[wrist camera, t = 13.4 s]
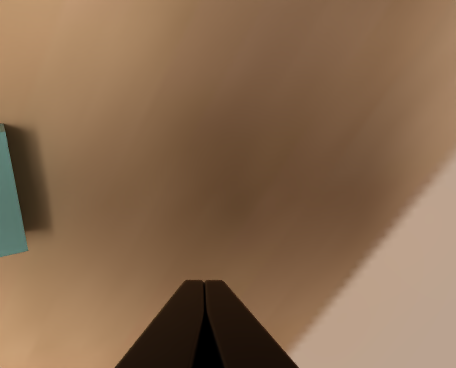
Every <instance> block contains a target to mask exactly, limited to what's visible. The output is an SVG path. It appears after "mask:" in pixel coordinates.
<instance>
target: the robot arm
mask: <svg viewBox="0 0 456 368" xmlns="http://www.w3.org/2000/svg"><path fill="white" fill-rule="evenodd" d="M115 368H299V367H298V366H297V365H296V364H295V363H294V362H293V360H292V359H291V358H290V357H289V356H288V355H287V354H286V352H285V351H284V350H283V349H282V348H281V347H280V346H279V344H278V343H277V342H276V341H275V340H274V339H273V337H272V336H271V335H270V334H269V333H268V332H267V331H266V329H265V328H264V327H263V326H262V325H261V324H260V323H259V321H258V320H257V319H256V318H255V317H254V316H253V315H252V313H251V312H250V311H249V310H248V309H247V308H246V306H245V305H244V304H243V303H242V302H241V301H240V300H239V298H238V297H237V296H236V295H235V294H234V293H233V292H232V290H231V289H230V288H229V287H228V286H227V285H226V284H225V282H224V281H222V280H206V281H205V282H203V281H202V280H185V281H184V282H183V283H182V285H181V286H180V287H179V288H178V290H177V291H176V292H175V293H174V295H173V296H172V297H171V298H170V300H169V301H168V302H167V303H166V304H165V306H164V307H163V308H162V309H161V311H160V312H159V313H158V314H157V316H156V317H155V318H154V319H153V321H152V322H151V323H150V324H149V326H148V327H147V328H146V329H145V331H144V332H143V333H142V334H141V336H140V337H139V338H138V339H137V341H136V342H135V343H134V344H133V346H132V347H131V348H130V349H129V351H128V352H127V353H126V354H125V356H124V357H123V358H122V359H121V361H120V362H119V363H118V364H117V365H116V367H115Z"/></svg>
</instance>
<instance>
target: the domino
mask: <svg viewBox="0 0 456 368" xmlns="http://www.w3.org/2000/svg"><path fill="white" fill-rule="evenodd" d="M25 251H28V247H27V242H26V237H25V232H24V226H23V221H22V216H21V211H20V206H19V200H18V195H17V190H16V185H15V180H14V174H13V169H12V164H11V159H10V154H9V148H8V143H7V138H6V133H5V129H4V125H3V124H0V257H3V256H7V255H12V254H16V253H20V252H25Z"/></svg>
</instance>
